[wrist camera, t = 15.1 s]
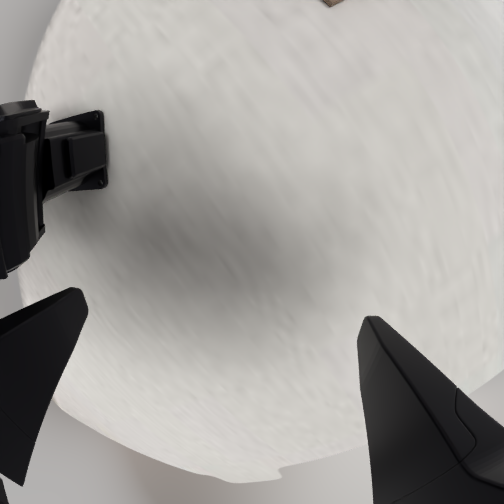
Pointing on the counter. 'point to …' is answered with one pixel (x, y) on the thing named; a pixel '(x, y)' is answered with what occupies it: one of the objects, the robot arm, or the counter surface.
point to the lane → (332, 2)
